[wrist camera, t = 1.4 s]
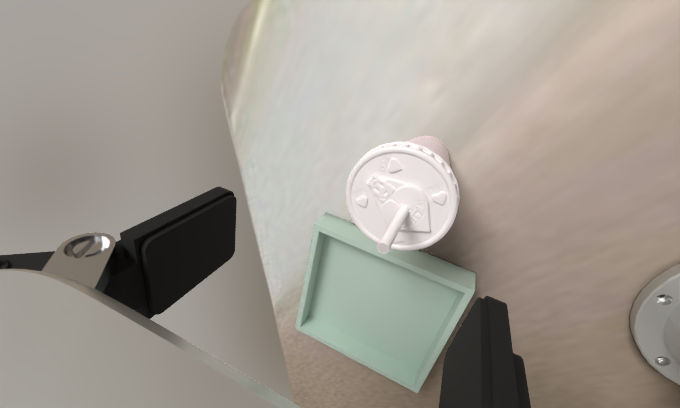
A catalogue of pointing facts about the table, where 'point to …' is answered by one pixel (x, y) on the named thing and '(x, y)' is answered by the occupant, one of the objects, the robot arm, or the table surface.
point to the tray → (380, 301)
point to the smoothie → (404, 194)
